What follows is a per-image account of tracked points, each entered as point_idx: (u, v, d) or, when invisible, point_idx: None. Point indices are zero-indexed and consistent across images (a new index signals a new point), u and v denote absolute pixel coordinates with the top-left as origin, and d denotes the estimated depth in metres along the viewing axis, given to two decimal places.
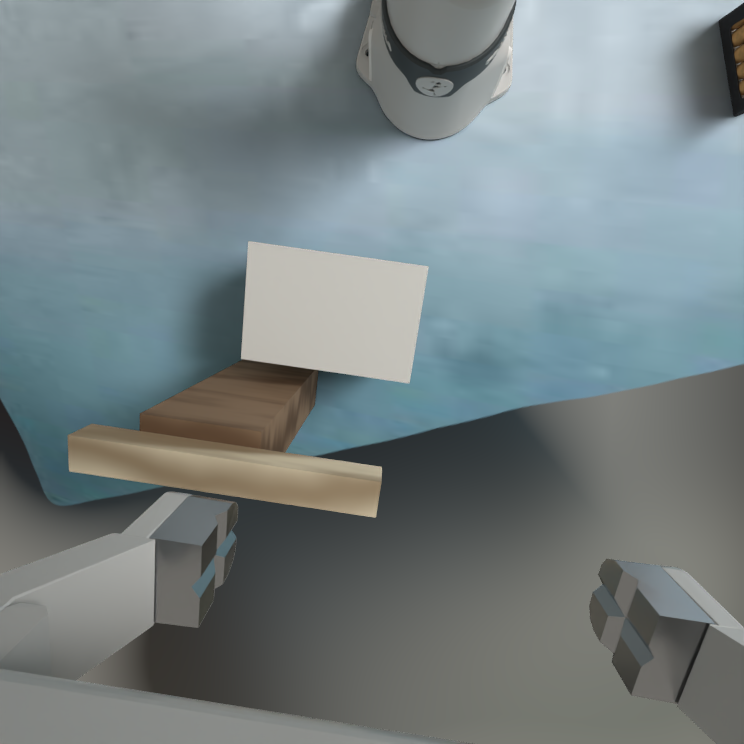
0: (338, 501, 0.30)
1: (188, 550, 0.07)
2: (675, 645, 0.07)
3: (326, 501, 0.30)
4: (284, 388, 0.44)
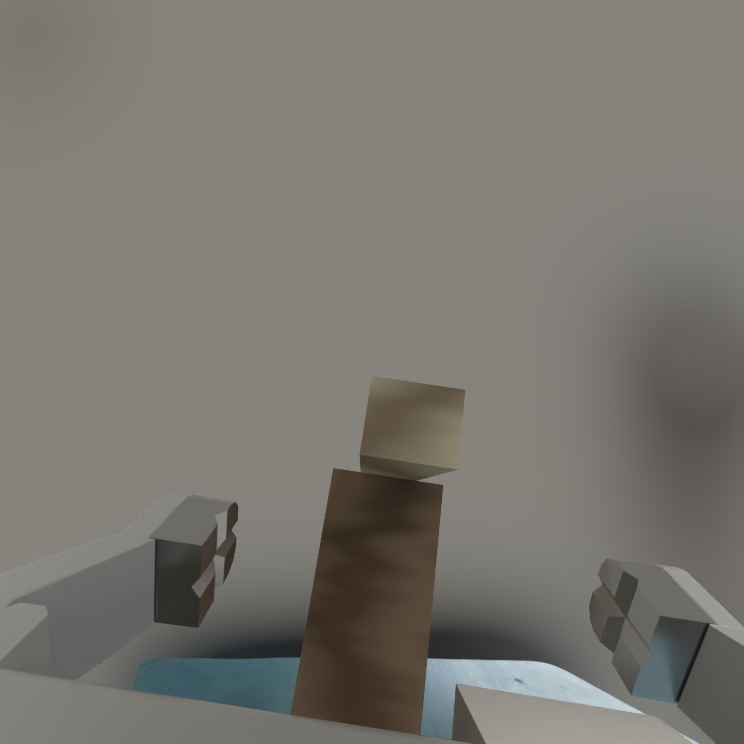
0: None
1: (189, 550, 0.07)
2: (675, 645, 0.07)
3: None
4: None
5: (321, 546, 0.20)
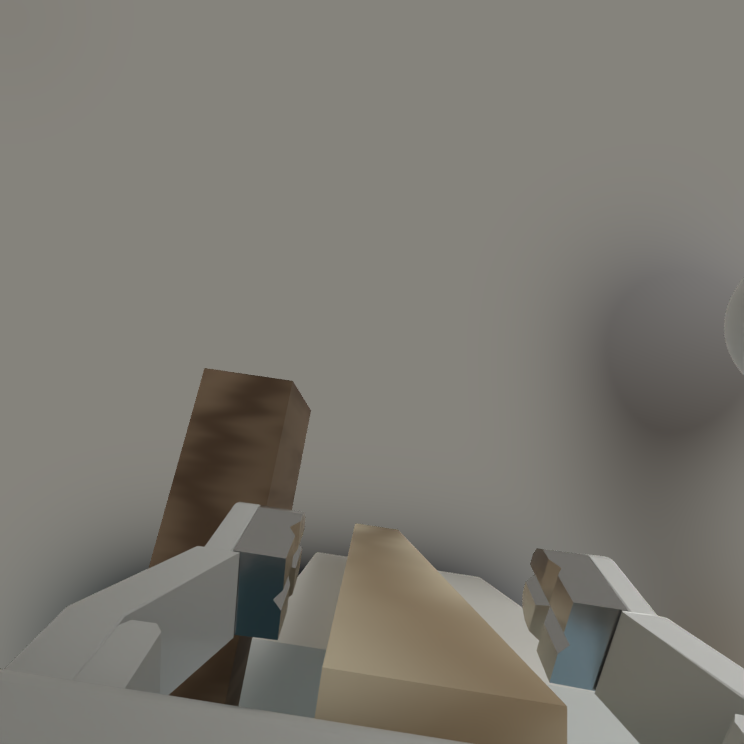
0: (380, 609, 0.08)
1: (273, 562, 0.07)
2: (590, 632, 0.07)
3: (373, 596, 0.09)
4: None
5: (189, 426, 0.26)
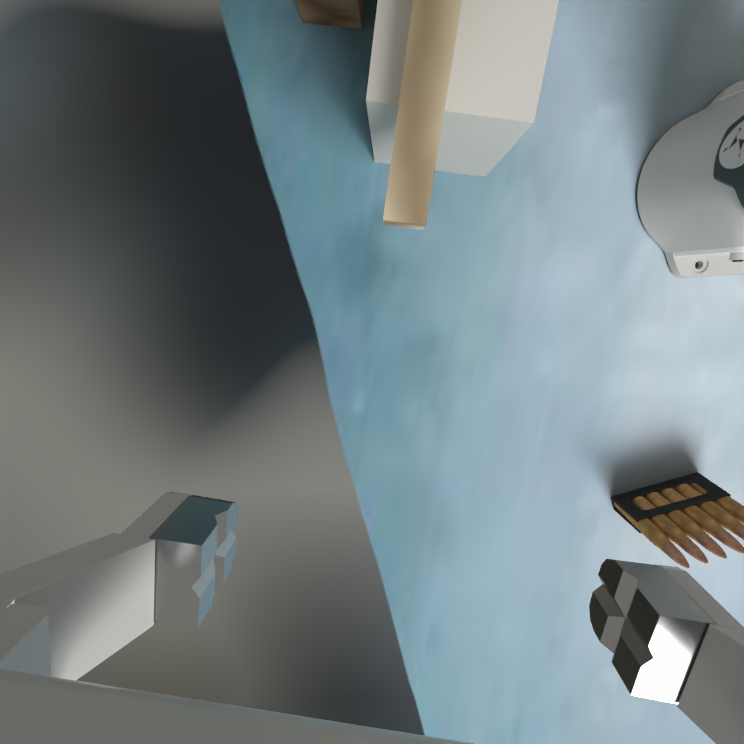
0: (401, 175, 0.27)
1: (189, 550, 0.07)
2: (675, 645, 0.07)
3: (402, 160, 0.27)
4: None
5: None
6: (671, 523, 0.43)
